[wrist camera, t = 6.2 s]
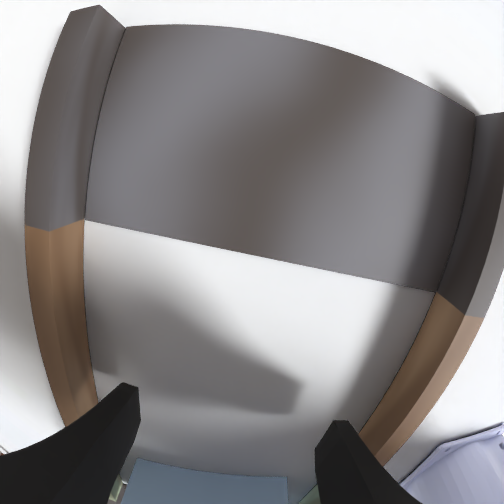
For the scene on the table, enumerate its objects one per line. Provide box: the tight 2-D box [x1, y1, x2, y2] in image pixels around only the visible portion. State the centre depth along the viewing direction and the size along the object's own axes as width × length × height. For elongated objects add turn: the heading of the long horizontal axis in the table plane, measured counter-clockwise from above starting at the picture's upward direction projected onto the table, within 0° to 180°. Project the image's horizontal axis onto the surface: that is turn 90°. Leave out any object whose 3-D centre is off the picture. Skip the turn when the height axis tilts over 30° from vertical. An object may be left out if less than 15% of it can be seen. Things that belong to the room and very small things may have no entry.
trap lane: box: [25, 5, 504, 504], centre depth 11 cm, size 15×35×2 cm, turn 168°
